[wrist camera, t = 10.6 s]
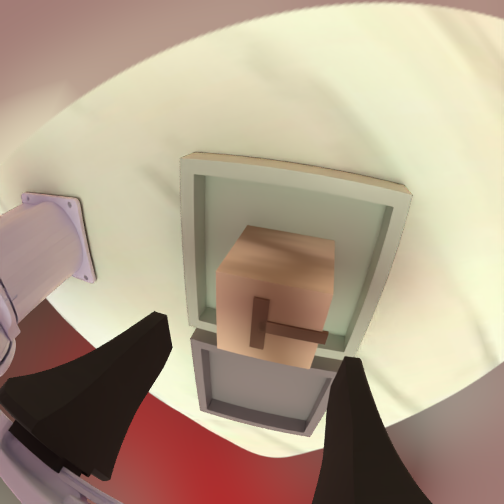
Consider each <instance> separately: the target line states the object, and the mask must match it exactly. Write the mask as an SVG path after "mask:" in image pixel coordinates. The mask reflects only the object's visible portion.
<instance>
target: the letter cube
mask: <svg viewBox="0 0 504 504" xmlns="http://www.w3.org/2000/svg"><path fill="white" fill-rule="evenodd" d="M334 261H335V241H334V240H329V239H324V238H318V237H313V236H307V235H302V234H296V233H291V232H285V231H279V230H274V229H268V228H262V227H256V226H250V225H247V226H246V228H245V229H244V231H243V232H242V234H241V235H240V237H239V238H238V239H237V241H236V242H235V244H234V245H233V247H232V248H231V250H230V251H229V253H228V254H227V255H226V257H225V258H224V260H223V261H222V263H221V264H220V266H219V267H218V269H217V270H216V322H217V348H218V349H222V350H225V351H229V352H233V353H237V354H241V355H245V356H249V357H253V358H258V359H262V360H266V361H271V362H275V363H280V364H285V365H290V366H295V367H300V368H305V369H310V367H311V364H312V361H313V358H314V355H315V352H316V349H317V346H318V344H324V345H325V343H326V340H327V337H328V334H329V331H324V330H323V328H324V324H325V321H326V318H327V315H328V311H329V308H330V304H331V301H332V298H333V291H334Z"/></svg>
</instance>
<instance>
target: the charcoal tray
mask: <svg viewBox="0 0 504 504" xmlns="http://www.w3.org/2000/svg"><path fill="white" fill-rule="evenodd" d="M190 340H191V349H192V357H193V364H194V372H195V379H196V386H197V393H198V399H199V406H200V411H203V412H207V413H210V414H213V415H216V416H220V417H223V418H226V419H230V420H234V421H237V422H241V423H245V424H249V425H253V426H257V427H261V428H266V429H270V430H275V431H280V432H285V433H290V434H295V435H301V436H307V437H310V436H311V435H312V433H313V431H314V430H315V428H316V426H317V425H318V423H319V421H320V420H321V418H322V416H323V415H324V413H325V411H326V409H327V404H328V398H329V393H330V387H331V384H332V382H333V380H334V378H335V376H336V374H337V372H338V369H339V367H340V365H341V363H342V361H343V360H338V359H332V358H327V357H321V356H316V355H314V358H313V361H312V364H311V367H310V369H305V368H300V367H295V366H290V365H285V364H280V363H275V362H271V361H266V360H262V359H258V358H253V357H249V356H245V355H241V354H237V353H233V352H229V351H225V350H222V349H218V348H217V333H214V332H211V331H207V330H203V329H200V328H196V330H195V332H194V333H193V335H192V337H191V338H190Z"/></svg>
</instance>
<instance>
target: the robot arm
mask: <svg viewBox="0 0 504 504" xmlns="http://www.w3.org/2000/svg"><path fill="white" fill-rule="evenodd" d="M21 197H22V204H20V205H19V206H17V207H15V208H13V209H11V210H10V211H8V212H6V213H4V214H3V215H1V216H0V377H1V376H2V375H3V374H4V373H5V372H6V370H7V369H8V367H9V366H10V364H11V361H12V359H13V356H14V353H15V346H16V343H15V339H14V338H15V337H16V336H17V335H18V334H19V333H20V330H19V328H18V326H17V324H18V323H19V322H20V321H21V320H22V319H23V318H24V317H25V316H26V315H27V314H28V313H29V312H31V310H33V309H34V308H35V307H36V306H37V305H38V304H39V303H40V302H41V301H42V300H44V299H45V298H46V297H47V296H48V295H49V294H50V293H52V292H53V291H54V290H55V289H56V288H57V287H59V286H60V285H61V284H62V283H63V282H64V281H66V280H67V279H68V278H69V277H70V276H73V277H76V278H79V279H81V280H84V281H87V282H89V283H94V282H95V281H96V277H95V273H94V269H93V265H92V261H91V257H90V253H89V248H88V244H87V239H86V234H85V229H84V224H83V218H82V212H81V206H80V202H79V200H78V199H77V198H72V197H63V196H55V195H46V194H37V193H28V192H24V193H22V196H21ZM171 350H172V342H171V337H170V331H169V325H168V319H167V315H165V314H161V313H158V312H155V311H154V312H153V313H151V314H150V315H148V316H147V317H145V318H144V319H142V320H141V321H139V322H138V323H136V324H135V325H133V326H132V327H130V328H129V329H127V330H126V331H124V332H123V333H121V334H120V335H118V336H117V337H115V338H114V339H112V340H110V341H109V342H107V343H105V344H104V345H102V346H100V347H99V348H97V349H95V350H93V351H92V352H90V353H88V354H86V355H84V356H82V357H80V358H77V359H75V360H73V361H71V362H68V363H66V364H63V365H60V366H58V367H55V368H52V369H49V370H46V371H42V372H38V373H35V374H30V375H26V376H19V377H13V378H9V379H8V380H7V382H5V384H4V385H3V386H2V387H1V389H0V404H1V405H2V406H3V407H4V408H5V409H6V410H7V411H8V412H9V414H11V416H12V417H13V418H14V419H15V421H14V423H13V422H12V421H11V420H10V419H9V418H8V417H7V416H6V415H5V414H3V412H2V411H1V410H0V477H1V478H2V479H3V481H4V482H5V483H6V484H7V486H8V487H9V488H10V490H11V491H12V492H13V493H14V494H15V496H16V497H17V498H18V499H19V500H20V502H21V503H22V504H90V503H88V502H87V498H88V499H90V500H92V501H93V502H95V503H96V504H123V503H122V502H120V501H118V500H116V499H114V498H112V497H110V496H109V495H107V494H105V493H103V492H102V491H100V490H98V489H97V488H95V487H93V486H92V485H90V484H89V483H87V482H86V481H84V480H83V479H81V478H80V475H81V474H84V475H85V476H87V477H89V476H90V475H91V474H92V475H94V476H95V477H97V478H98V479H100V480H102V481H108V480H110V479H111V475H112V472H113V468H114V465H115V461H116V459H117V456H118V453H119V450H120V447H121V445H122V442H123V440H124V437H125V435H126V433H127V430H128V428H129V426H130V423H131V422H132V419H133V417H134V415H135V413H136V411H137V409H138V408H139V406H140V404H141V402H142V401H143V399H144V398H145V396H146V395H147V393H148V391H149V390H150V388H151V387H152V385H153V384H154V382H155V380H156V379H157V377H158V376H159V374H160V372H161V371H162V369H163V368H164V365H165V363H166V361H167V359H168V357H169V355H170V352H171ZM86 497H87V498H86ZM312 504H432V503H431V502H430V500H429V499H428V498H427V497H426V496H425V494H424V493H423V492H422V491H421V489H420V488H419V487H418V485H417V484H416V482H415V481H414V480H413V478H412V476H411V475H410V473H409V472H408V470H407V469H406V467H405V466H404V464H403V462H402V461H401V459H400V457H399V455H398V454H397V452H396V450H395V448H394V446H393V444H392V442H391V440H390V438H389V436H388V434H387V431H386V429H385V427H384V425H383V422H382V420H381V418H380V415H379V412H378V410H377V407H376V404H375V402H374V399H373V396H372V393H371V391H370V387H369V384H368V381H367V378H366V375H365V372H364V368H363V365H362V361H361V359H360V358H355V357H349V356H344V359H343V361H342V363H341V365H340V367H339V369H338V372H337V374H336V376H335V378H334V380H333V382H332V384H331V387H330V393H329V398H328V404H327V413H326V427H325V440H324V452H323V460H322V466H321V470H320V475H319V479H318V483H317V487H316V491H315V494H314V498H313V501H312Z"/></svg>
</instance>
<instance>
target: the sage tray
mask: <svg viewBox="0 0 504 504" xmlns="http://www.w3.org/2000/svg"><path fill="white" fill-rule="evenodd" d="M412 196H413V195H412V194H411V192H410V191H409V190H408V189H407V188H406V187H405V185H402V184H398V183H394V182H390V181H385V180H381V179H377V178H372V177H368V176H363V175H358V174H354V173H349V172H344V171H338V170H333V169H328V168H322V167H316V166H310V165H304V164H298V163H291V162H284V161H277V160H270V159H262V158H253V157H245V156H235V155H225V154H214V153H201V152H194V153H191V154H189V155H186V156H184V157H181V158H180V199H181V227H182V247H183V263H184V277H185V290H186V301H187V312H188V322H189V326H193V327H196V328H200V329H203V330H207V331H211V332H214V333H217V322H216V270H217V269H218V267H219V266H220V264H221V263H222V261H223V260H224V258H225V257H226V255H227V254H228V253H229V251H230V250H231V248H232V247H233V245H234V244H235V242H236V241H237V239H238V238H239V237H240V235H241V234H242V232H243V231H244V229H245V228H246V226H247V225H250V226H256V227H262V228H268V229H274V230H279V231H285V232H291V233H296V234H302V235H307V236H313V237H318V238H324V239H329V240H334V241H335V261H334V291H333V298H332V301H331V304H330V308H329V311H328V315H327V318H326V321H325V324H324V328H323V330H324V331H329V334H328V337H327V340H326V343H325V345H324V344H318V346H317V349H316V352H315V355H316V356H321V357H327V358H332V359H338V360H343V359H344V356H349V357H354V356H355V354H356V352H357V350H358V348H359V346H360V343H361V341H362V339H363V337H364V335H365V332H366V330H367V328H368V326H369V323H370V321H371V319H372V316H373V314H374V311H375V309H376V306H377V304H378V301H379V299H380V296H381V294H382V291H383V288H384V286H385V283H386V280H387V278H388V275H389V272H390V269H391V266H392V263H393V261H394V258H395V255H396V251H397V248H398V245H399V242H400V239H401V236H402V232H403V229H404V226H405V222H406V219H407V215H408V211H409V208H410V204H411V200H412Z"/></svg>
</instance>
